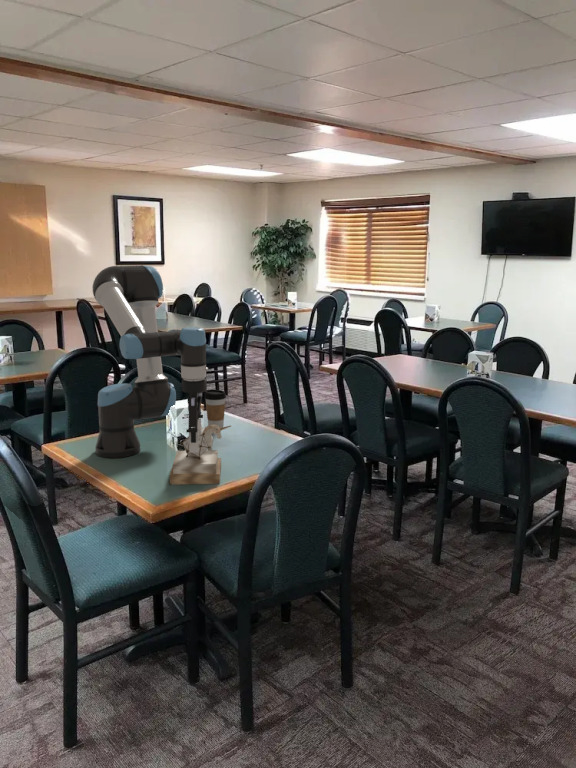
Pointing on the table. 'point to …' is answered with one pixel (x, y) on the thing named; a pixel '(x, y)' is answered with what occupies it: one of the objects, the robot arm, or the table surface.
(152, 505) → the table surface
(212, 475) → the tower base
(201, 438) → the game die
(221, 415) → the coffee cup
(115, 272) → the robot arm
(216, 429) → the unicorn figurine
